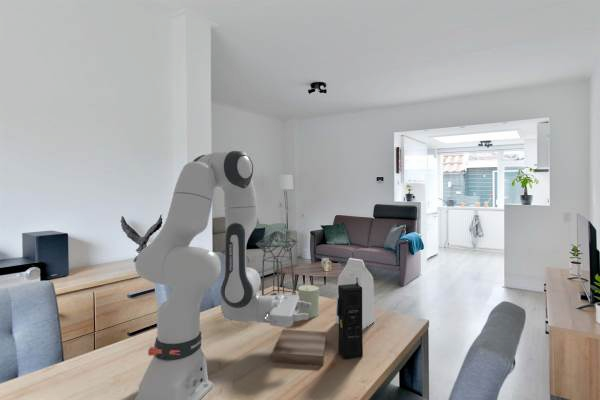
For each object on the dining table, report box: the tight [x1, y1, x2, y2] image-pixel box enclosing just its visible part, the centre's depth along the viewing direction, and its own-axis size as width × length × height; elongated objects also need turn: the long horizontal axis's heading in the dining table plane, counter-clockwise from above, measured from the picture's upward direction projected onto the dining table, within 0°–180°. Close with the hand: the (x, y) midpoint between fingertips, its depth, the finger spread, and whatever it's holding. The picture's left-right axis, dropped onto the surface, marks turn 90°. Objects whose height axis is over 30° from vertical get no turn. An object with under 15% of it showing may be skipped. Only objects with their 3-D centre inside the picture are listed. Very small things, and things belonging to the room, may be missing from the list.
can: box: [297, 284, 320, 319], centre depth 150 cm, size 9×9×12 cm
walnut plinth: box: [272, 329, 327, 366], centre depth 117 cm, size 18×16×3 cm
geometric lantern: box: [255, 230, 299, 296], centre depth 163 cm, size 16×16×35 cm
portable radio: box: [336, 279, 364, 360], centre depth 113 cm, size 8×6×25 cm
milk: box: [335, 257, 376, 331], centre depth 141 cm, size 12×12×26 cm
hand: (309, 310), depth 115 cm, fingers open, 8 cm apart
